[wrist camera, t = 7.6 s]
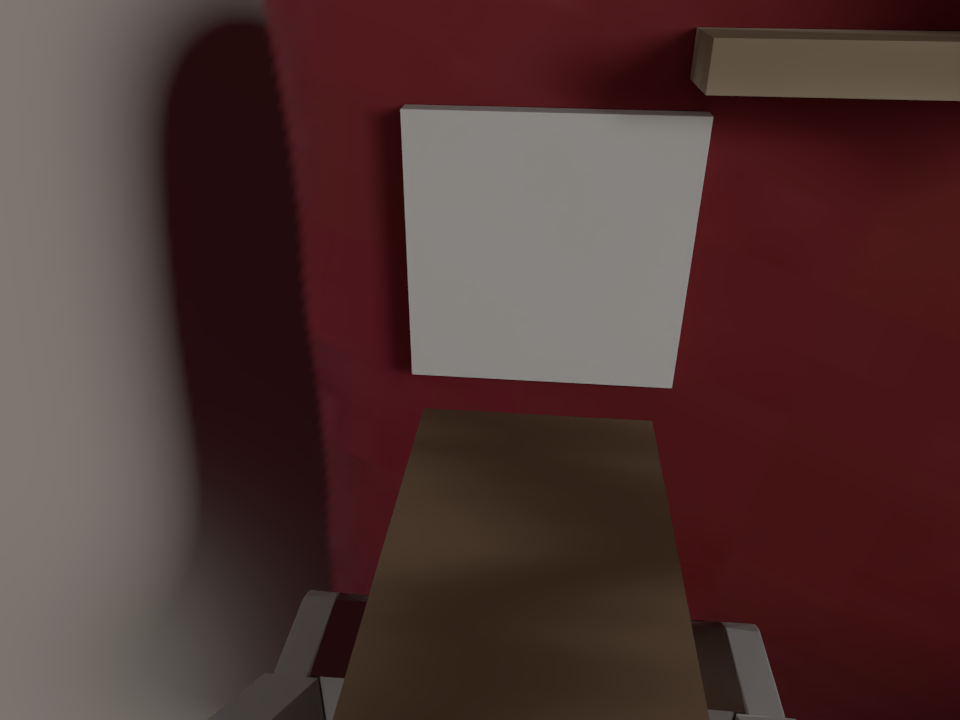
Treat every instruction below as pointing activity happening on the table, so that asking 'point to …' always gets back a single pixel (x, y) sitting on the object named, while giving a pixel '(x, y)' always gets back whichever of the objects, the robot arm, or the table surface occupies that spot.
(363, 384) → the table surface
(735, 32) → the shelf bay
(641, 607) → the block
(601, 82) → the table surface
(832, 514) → the table surface
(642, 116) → the white tile
